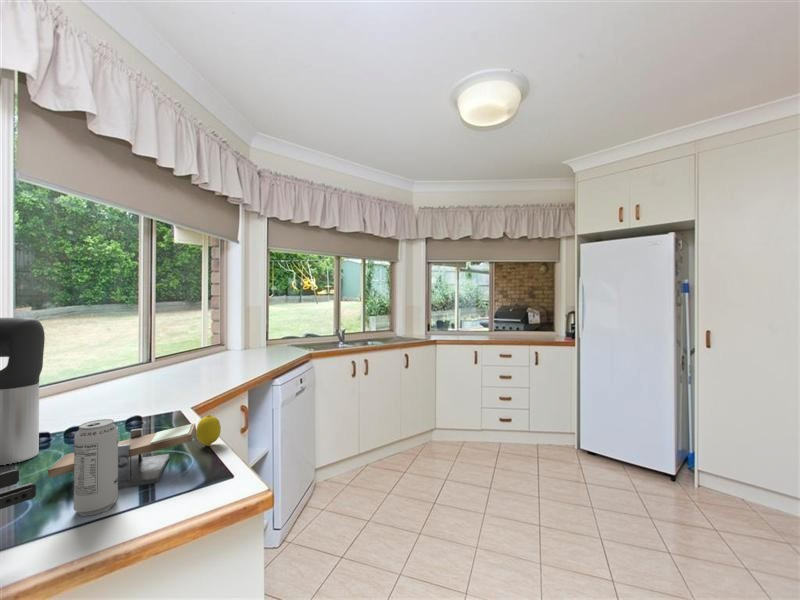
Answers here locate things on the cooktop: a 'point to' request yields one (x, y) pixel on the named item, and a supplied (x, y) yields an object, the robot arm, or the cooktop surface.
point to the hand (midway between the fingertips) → (26, 482)
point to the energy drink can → (95, 467)
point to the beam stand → (138, 466)
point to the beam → (136, 446)
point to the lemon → (208, 430)
